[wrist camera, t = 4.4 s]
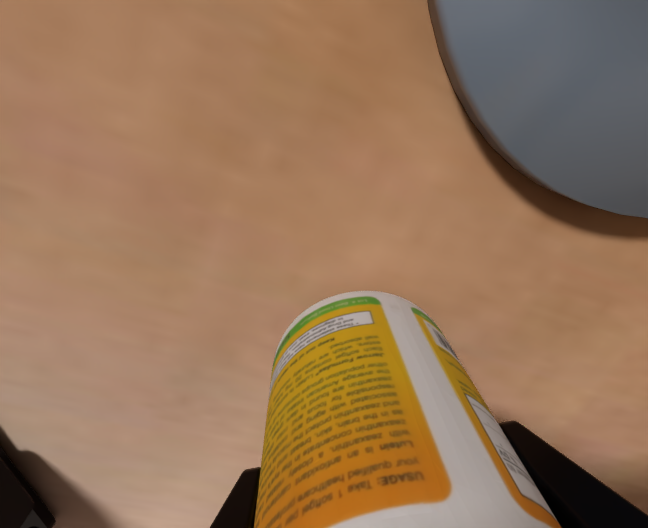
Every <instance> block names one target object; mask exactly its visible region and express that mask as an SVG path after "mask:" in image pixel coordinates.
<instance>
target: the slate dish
mask: <svg viewBox="0 0 648 528" xmlns="http://www.w3.org/2000/svg"><path fill="white" fill-rule="evenodd" d="M428 8H429V12H430V16H431V21H432V25H433V29H434V33H435V37H436V41H437V45H438V49H439V52H440V55H441V58H442V60H443V63H444V65H445V68H446V71H447V73H448V76H449V78H450V81H451V84H452V86H453V89H454V90H455V92H456V94H457V96H458V98H459V100H460V101H461V103H462V105H463V107H464V109H465V110H466V112H467V114H468V116H469V118H470V119H471V121H472V122H473V123H474V125H475V126H476V127H477V129H478V130H479V131H480V133H481V134H482V135H483V137H484V138H485V139H486V140H487V142H488V143H489V144H490V146H491V147H492V148H493V149H494V150H495V151H496V152H497V153H499V154H500V155H501V156H502V157H503V158H504V159H505V160H506V161H507V162H508V163H509V164H510V165H511V166H512V167H513V168H515V169H516V170H517V171H519V172H520V173H522V174H523V175H525V176H526V177H528V178H529V179H531V180H532V181H534V182H535V183H537V184H538V185H540V186H542V187H544V188H546V189H548V190H551V191H553V192H555V193H557V194H559V195H561V196H564V197H566V198H569V199H572V200H575V201H578V202H580V203H583V204H586V205H589V206H592V207H596V208H599V209H603V210H606V211H610V212H613V213H617V214H620V215H628V216H636V217H644V218H648V0H428Z"/></svg>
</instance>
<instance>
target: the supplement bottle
mask: <svg viewBox="0 0 648 528" xmlns="http://www.w3.org/2000/svg"><path fill="white" fill-rule="evenodd" d="M254 528H562V527H561V526H560V524H559V523H558V521H557V520H556V518H555V516H554V515H553V513H552V511H551V510H550V508H549V506H548V505H547V503H546V501H545V500H544V498H543V496H542V495H541V493H540V492H539V490H538V488H537V487H536V485H535V483H534V482H533V480H532V478H531V477H530V475H529V474H528V472H527V470H526V469H525V467H524V465H523V464H522V462H521V461H520V459H519V457H518V456H517V454H516V453H515V451H514V449H513V448H512V446H511V444H510V443H509V441H508V439H507V438H506V436H505V434H504V433H503V431H502V429H501V427H500V426H499V424H498V423H497V421H496V420H495V418H494V417H493V415H492V413H491V412H490V410H489V408H488V407H487V405H486V403H485V402H484V400H483V399H482V397H481V395H480V394H479V392H478V390H477V389H476V387H475V386H474V384H473V382H472V381H471V379H470V377H469V376H468V374H467V373H466V371H465V369H464V367H463V366H462V364H461V363H460V361H459V360H458V358H457V356H456V354H455V353H454V351H453V350H452V348H451V346H450V345H449V343H448V341H447V340H446V338H445V337H444V335H443V334H442V332H441V331H440V329H439V328H438V327H437V325H436V324H435V322H434V321H433V320H432V319H431V318H430V317H429V315H428V314H427V313H425V312H424V311H423V310H422V309H421V308H419V307H418V306H417V305H415V304H414V303H412V302H410V301H408V300H406V299H404V298H402V297H399V296H397V295H393V294H389V293H385V292H379V291H355V292H347V293H342V294H338V295H335V296H332V297H329V298H326V299H324V300H322V301H320V302H318V303H316V304H314V305H312V306H311V307H309V308H308V309H306V310H305V311H304V312H302V313H301V314H300V315H299V316H298V317H297V318H296V319H295V320H294V321H293V322H292V323H291V325H290V326H289V327H288V328H287V330H286V331H285V333H284V334H283V336H282V338H281V340H280V342H279V345H278V347H277V350H276V354H275V358H274V363H273V368H272V376H271V382H270V393H269V403H268V411H267V419H266V428H265V436H264V445H263V454H262V462H261V471H260V479H259V489H258V497H257V505H256V514H255V523H254Z"/></svg>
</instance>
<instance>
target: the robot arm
mask: <svg viewBox="0 0 648 528" xmlns="http://www.w3.org/2000/svg"><path fill="white" fill-rule="evenodd" d="M498 424H499V426H500V427H501V429H502V431H503V433H504V434H505V436H506V438H507V439H508V441H509V443H510V444H511V446H512V448H513V449H514V451H515V453H516V454H517V456H518V457H519V459H520V461H521V462H522V464H523V465H524V467H525V469H526V470H527V472H528V474H529V475H530V477H531V478H532V480H533V482H534V483H535V485H536V487H537V488H538V490H539V492H540V493H541V495H542V496H543V498H544V500H545V501H546V503H547V505H548V506H549V508H550V510H551V511H552V513H553V515H554V516H555V518H556V520H557V521H558V523H559V524H560V526H561V527H562V528H648V515H647V514H645V513H644V512H642V511H641V510H640V509H638V508H637V507H635V506H634V505H633V504H631V503H630V502H628V501H627V500H626V499H624V498H623V497H622V496H620V495H619V494H617V493H616V492H615V491H613V490H612V489H610V488H609V487H608V486H606V485H605V484H603V483H602V482H601V481H599V480H598V479H596V478H595V477H594V476H592V475H591V474H589V473H588V472H587V471H585V470H584V469H583V468H581V467H580V466H578V465H577V464H576V463H574V462H573V461H571V460H570V459H569V458H567V457H566V456H564V455H563V454H562V453H560V452H559V451H557V450H556V449H555V448H553V447H552V446H550V445H549V444H548V443H546V442H545V441H543V440H542V439H541V438H539V437H538V436H537V435H535V434H534V433H532V432H531V431H530V430H528V429H527V428H525V427H524V426H523V425H521V424H520V423H518V422H516V421H508V422H502V423H498ZM260 471H261V467H257V468H251V469H247V470H245V471H243V473H242V474H241V476H240V477H239V479H238V481H237V482H236V484H235V486H234V487H233V489H232V491H231V493H230V494H229V496H228V498H227V499H226V501H225V503H224V504H223V506H222V508H221V510H220V511H219V513H218V515H217V516H216V518H215V520H214V521H213V523H212V525H211V526H210V528H254V523H255V514H256V505H257V497H258V489H259V479H260ZM55 522H56V520H55V518H54V516H53V515H52V514H51V512H50V511H49V510H48V509H47V507H46V506H45V505H44V503H43V502H42V501H41V499H40V498H39V497H38V495H37V494H36V493H35V492H34V490H33V489H32V488H31V486H30V485H29V484H28V482H27V481H26V480H25V478H24V477H23V476H22V475H21V473H20V472H19V471H18V469H17V468H16V467H15V465H14V464H13V463H12V461H11V460H10V459H9V458H8V456H7V455H6V454H5V452H4V451H3V450H2V448H1V447H0V528H53V526H54V525H55Z"/></svg>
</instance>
